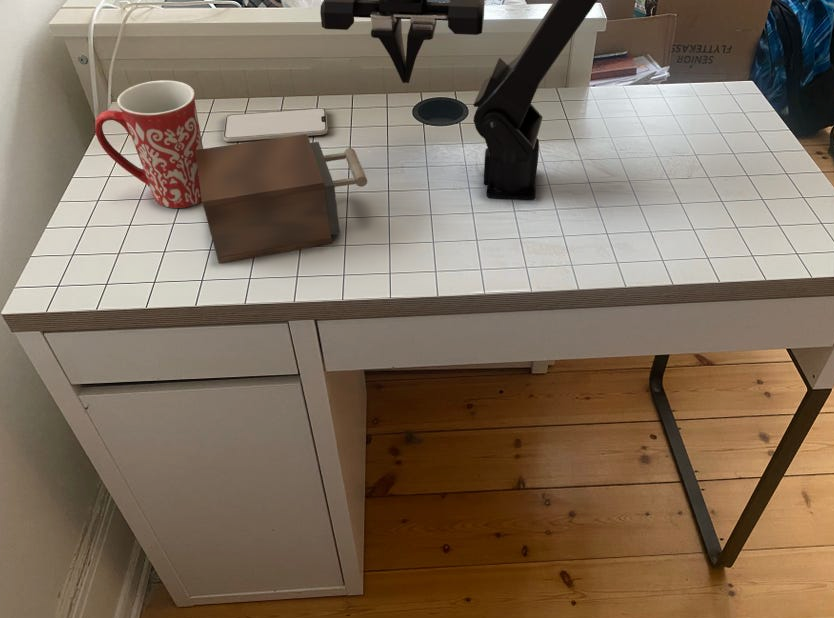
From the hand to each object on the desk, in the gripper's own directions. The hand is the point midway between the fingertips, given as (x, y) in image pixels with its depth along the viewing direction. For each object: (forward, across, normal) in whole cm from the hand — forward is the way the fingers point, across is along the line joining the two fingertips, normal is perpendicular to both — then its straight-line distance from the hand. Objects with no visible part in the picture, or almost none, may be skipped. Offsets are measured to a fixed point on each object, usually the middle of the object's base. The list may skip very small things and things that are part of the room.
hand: (406, 81), depth 94 cm
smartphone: (+13, +21, -11) cm, 27 cm away
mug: (+13, +31, +8) cm, 35 cm away
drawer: (+12, +12, +13) cm, 21 cm away
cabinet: (+13, +16, +14) cm, 25 cm away
